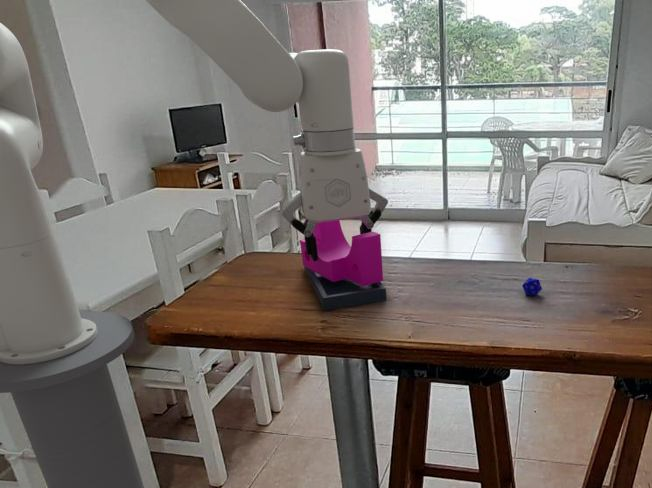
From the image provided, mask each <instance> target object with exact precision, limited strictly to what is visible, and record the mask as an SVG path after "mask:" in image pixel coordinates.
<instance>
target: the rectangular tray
mask: <svg viewBox="0 0 652 488" xmlns="http://www.w3.org/2000/svg"><path fill="white" fill-rule="evenodd" d="M303 268H304V272H305V274H306V276H307V278H308V280H309V283H310V284H311V286H312V288H313V291H314V293H315V294H316V296H317V298H318V301H319V302H320V305H321V307H322V309H323V311H330V310H331V311H332V310H337V309H342V308H348V307H355V306H360V305H366V304H372V303H373V304H374V303H378V302H384V301H387V288H386V286H384V284H383V283H382V281H380V282H377V283H373V284H370V285H367V286H361V285H359V284H357V283H355V282H353V281H351V280H349V279H343V280H339V281H336V282H332V281H330V280H328V279H327V278H325V277H323V276H321V275H319V274H318V273H316V272H314V271H312V270H310V269H309V268H307V267H305V266H303Z"/></svg>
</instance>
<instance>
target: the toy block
mask: <svg viewBox="0 0 652 488" xmlns="http://www.w3.org/2000/svg"><path fill="white" fill-rule="evenodd" d="M313 234H314V236H315V237H316V245H317V254H318V260H317V261H313V259H312V257H311V255H307V252H306V245H305V238H302V239H299V243H300V252H301V259H302V266H303V267H304V266H305V267H307V268H309V269H310V270H312V271H314V272H316V273H318V274H319V275H321V276H323V277H325V278H327V279H328V280H330V281H332V282H336V281H339V280H343V279H349V280H351V281H353V282H355V283H357V284H359V285H361V286H367V285H370V284H373V283H377V282H383V281H384V272H383V255H382V238H381V233H378V232H375V231H372V232H368V233H364V234H360V233H359V234H356V235H351V245H350V244H349V242H348V240H347V239H346V237H345V235H344V232H343V228H342V225H341V220H336V221H327V222H317V224H316V226H315V229H314V231H313Z"/></svg>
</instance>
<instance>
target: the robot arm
mask: <svg viewBox="0 0 652 488" xmlns="http://www.w3.org/2000/svg"><path fill="white" fill-rule="evenodd" d="M145 1H146V2H147V3H148V4H149V5H150V6H151V7H152V8H153V9H154V10H155V11H156V12H157V13H158V14H159V15H160V16H161V17H162V18H163V19H164V20H165V21H166V22H168V24H170V25H171V26H172V27H173V28H175V29H176V30H178V31H179V32H181V33H182V34H184V35H185V37H187V38H189V39H190V40H191V41H192V42H193V43H194V44H195V45H197V47H199V48H200V49H201V50H202V51H203V52H204V53H205V54H206V55H207V56H208V57H209V58H210V59H211V60H212V61H213V63H215V64H216V65H217V66H218V67H219V68H220V69H221V70H222V71H223V72H224V73H225V74H226V75H227V77H228V78H230V79H231V81H233V83H234V84H235V85H236V86H237V87H238V88H239V89H240V91H241V92H242V94H243V96H244V97H245V98H246V99H247V100H248V101H249V102H251V104H254V105H255V106H257V107H258V108H259V109H261V110H264V111H266V112H271V113H281V112H284V111H287V110H290V109H291V108H292V107H293V106H295V105H296V103H298V108H299V117H300V125H301V130H300V133H299V134H297V135H294V136H292V143H293V146H294V147H296V146H297V147H301V148H303V150H304V151H302V152H300V155H299V192H300V193H298V195H296V196H295V197H294V198H293V199H292V200H291V201H289V203H287V204H286V205H285V206H284V207H283V208H282V209H281V210H280V213H281V215H282V217H283V218H284V220H286V221H287V222H288V223H289V224H290V225H291V226H292V227H293V228H294V229H295V230H297V231H298V232H300V233H301V234H302V235H303V237H304V239H305V245H306V252H307V255H311V257H312V259H313V261H317V260H318V254H317V245H316V237H315V236H314V234H313V231H314V229H315V226H316V224H317V222H327V221H336V220H340V221H342V220H350V219H351V220H352V219H359V220H360V223H361V224H360V226H359V235H360V234H364V233H368V232H373V228H374V227H375V224H376V223H377V222H378V221H379V219H380V218H381V217H382V213H383V212H384V211H385V209H386V208H387V205H388V204H389V199H387V198H386V197H384V196H383V195H381V194H380V193H377V191H374V190H373V189H371V188H370V187H369V180H368V174H367V169H366V164H365V160H364V155H363V152H362V149H360V148H358V147H356V138H355V125H354V112H353V101H352V91H351V89H352V87H351V77H350V75H351V74H350V64H349V59H348V56H347V54H346V53H345V52H344V51H342V50H340V49H336V48H335V49H328V48H327V49H326V48H325V49H309V50H302V51H299V52H288V50H287V49H286V48H285V47H284V46H283V45H282V44H281V42H280V41H278V39H277V38H276V37H275V36H274V35H273V33H272V32H271V31H270V30H269V29H268V28H267V27H266V26H265V25H264V23H263V22H262V21H261V20H260V19H259V18H258V17H257V16H256V15H255V14H254V12H253V11H252V10H251V9H250V8H248V6H247V5H246V4H245V3H244V2H243V1H242V0H145ZM33 87H34V86H33V83H32V78H31V73H30V68H29V63H28V60H27V57H26V54H25V52H24V50H23V47H22V45H21V44H20V42H19V40H18V39H17V37H16V36H15V34H14V33H13V32H12V31H11V30H10V29H9V28H7V26H5V25H4V24H3V23H2V22H0V362H3V363H7V364H14V365H24V364H34V363H40V362H45V361H49V360H54V359H57V358H60V357H63V356H66V355H69V354H71V353H74V352H76V351H78V350H80V349H82V348H83V347H85V346H87V345H88V344H89V343H91V342H92V341H93V340H94V339H95V338H96V336H97V334H98V330H97V327H96V324H95V323H94V322H92V321H90V320H87V319H82V318H81V316H80V313H79V312H80V310H79V307H78V304H77V301H76V297H75V294H74V290H73V287H72V284H71V281H70V278H69V275H68V271H67V269H66V265H65V262H64V259H63V255H62V253H61V249H60V246H59V242H58V240H57V239H58V238H57V236H56V233H55V231H54V226H53V224H52V220H51V217H50V215H49V212H48V209H47V207H46V204H45V201H44V199H43V196H42V194H41V192H40V190H39V188H38V185H37V184H36V181H35V179H34V175H33V173H32V170H33V169H34V168H35V167H36V166H37V165H38V164H39V162H40V160H41V158H42V155H43V152H44V151H43V150H44V139H43V138H44V137H43V132H42V126H41V121H40V117H39V112H38V107H37V102H36V97H35V92H34V88H33ZM371 200H372V201H373V202H375V205H374V207H373V208H372V209H371ZM300 208H301V210H302V213H303V214H304V217H305V219H304V221H303V222H302V221H301V220H300V219H298V218H297V217H296V215H294V213H295V212H296V211H297V210H298V209H300Z"/></svg>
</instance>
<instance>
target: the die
mask: <svg viewBox="0 0 652 488" xmlns="http://www.w3.org/2000/svg"><path fill="white" fill-rule="evenodd" d="M521 286H522V288H523V291H524V294H525V295H527V296H532V297H537V295H538V294H539V293H540V292H541V291H542V290H543V287H542V285H541V282H540V279H538V278H533V277H528V278H527V279H526V280H525V281H524V283H522V285H521Z"/></svg>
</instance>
